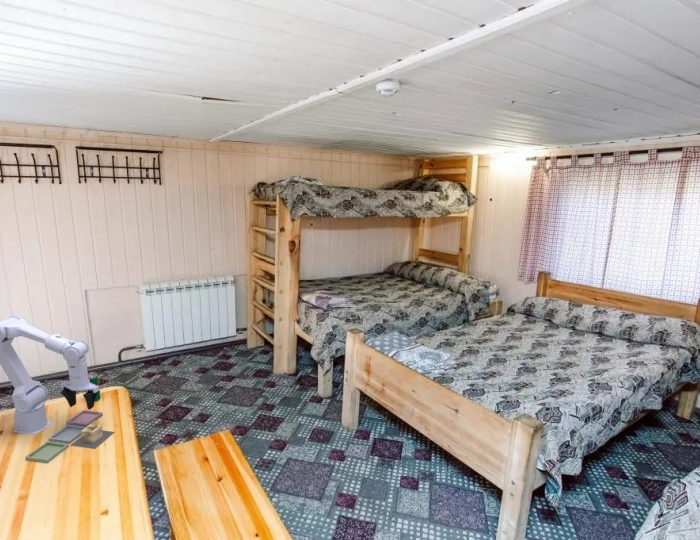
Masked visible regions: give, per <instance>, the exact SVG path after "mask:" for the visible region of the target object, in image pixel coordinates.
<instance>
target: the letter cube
mask: <svg viewBox="0 0 700 540" xmlns="http://www.w3.org/2000/svg"><path fill="white" fill-rule="evenodd" d="M102 430H103V426H102V425H101V424H94V423H91V424H90V425H88V426H87V427H86V428H85V429H83V430H82V431H81V434H82V435H81V437H82V442H86V443H93V444H94V443H95V442H96V441H97V440H99V439H100V438H101V437H102V436H103V433H102Z"/></svg>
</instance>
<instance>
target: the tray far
mask: <svg viewBox="0 0 700 540" xmlns="http://www.w3.org/2000/svg"><path fill="white" fill-rule="evenodd" d="M103 414H104V413H103V411H96V410H89V409H83V410H82V411H80V412H78V413H76V415H74V416H73V417H71V418H70V419H68V420H67V421H66V426H67V425H74V426H81V427H87V426H89V425H90V424H93V422H96V421H98V420H99V419H100V418H101V417H103V416H104V415H103Z"/></svg>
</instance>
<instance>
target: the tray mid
mask: <svg viewBox="0 0 700 540" xmlns="http://www.w3.org/2000/svg"><path fill="white" fill-rule="evenodd" d="M85 428H86V427H82V426H74V425H67V424H66V425H65V426H63V428H61V429H60V430H58V431H57V432H55V433H54V434H52V435H51V436H49V437H48V438H47V439H48V442H56V443H63V444H68V445H71V444H72V443H74V442H75V441H76V440H78V439H79V438H80V437H82V434H81V431H82V430H83V429H85Z"/></svg>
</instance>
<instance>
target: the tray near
mask: <svg viewBox="0 0 700 540" xmlns="http://www.w3.org/2000/svg"><path fill="white" fill-rule="evenodd" d="M69 446H70V444H66V443H58V442H51V441H49V440H48V441H46V442H44V443H43V444H41V445H39V446H38V447H37V448H35V449H34V450H33V451H32V452H30V453H28V454H27V455H26V456H25V459H24V460H25V461H30V462H35V463H36V462H38V463H44V464H49V463H50V462H52V461H53V460H54V459H55V458H56V457H58V456H60V454H62V453H63V452H64V451H65V450H67V449H68V448H69Z"/></svg>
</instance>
